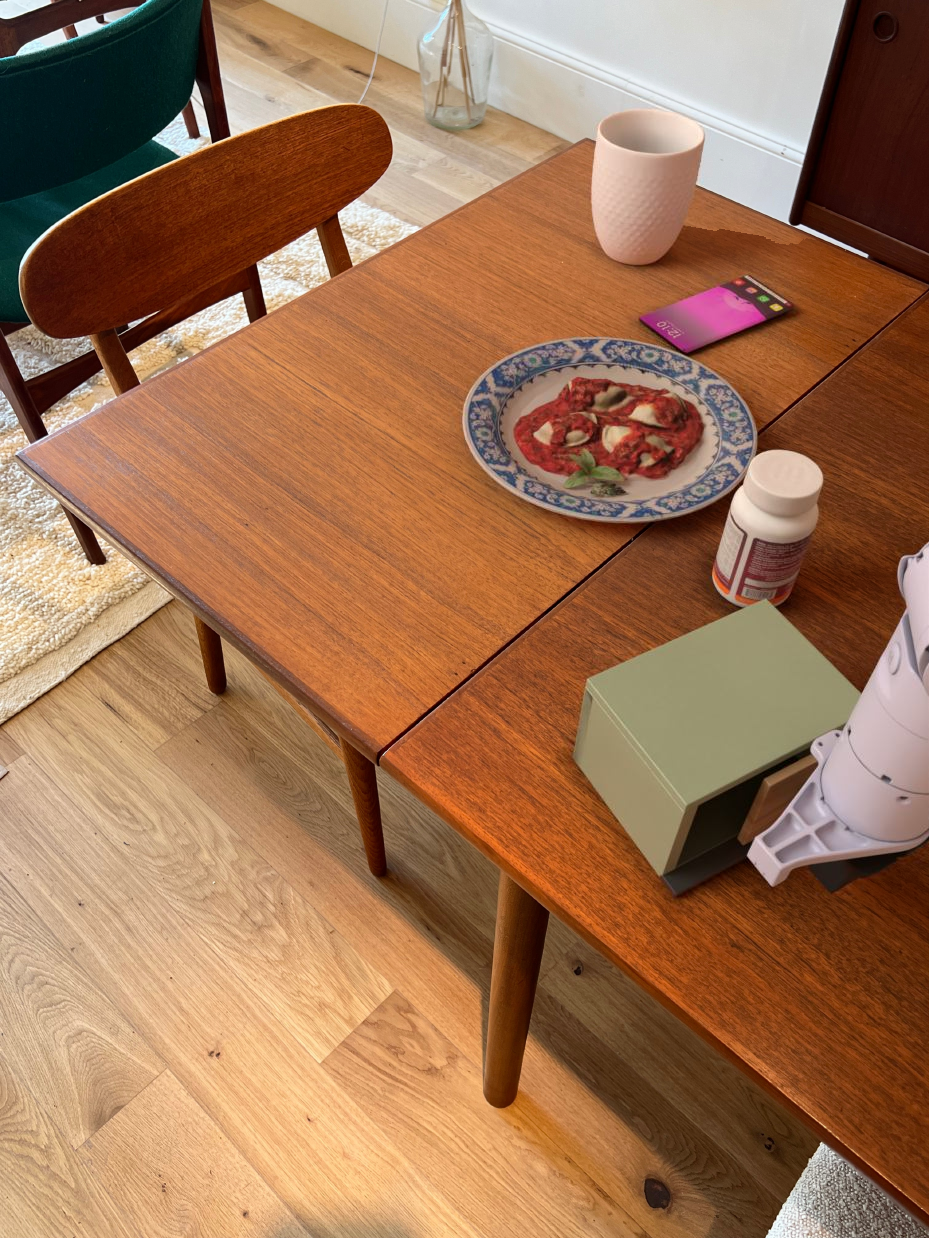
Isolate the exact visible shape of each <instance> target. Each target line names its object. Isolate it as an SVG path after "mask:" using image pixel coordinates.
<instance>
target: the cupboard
mask: <svg viewBox="0 0 929 1238" xmlns="http://www.w3.org/2000/svg"><path fill="white" fill-rule="evenodd" d="M583 691H584V692H583V697H582V702H581V703H582V704H581V709H580V714H579V719H578V720H579V721H578V727H577V732H576V737H575V744H574V748H573V755H572V759H573V760H574V762H575V763H576V765H577V766H578V767H579V769H580V770H581V772H582V773H583V774H584V776H585V777H586V778H587V780H588V781H589V783H590V784H591V785H592V787H593V788H594V790H595V791H596V793H597V794H598V795H599V796H600V797H601V799H602V800H603V801H604V803H605V805H606V806H607V807H608V808H609V810H610V812H611V813H612V814H613V815H614V817H615V818H616V819H617V821H618V822H619V824H620V825H621V827H622V828H623V829H624V830H625V832H626V833H627V834H628V836H629V837H630V839H631V840H632V841H633V843H634V844H635V846H636V847H637V848H638V850H639V851H640V852H641V854H642V856H643V857H644V858H645V859H646V861H647V862H648V863H649V864H650V865H649V866H651V868H652V869H653V870H654V871H655V873H656V874H657V876H658V877H659V878H660V879H661V881H662V882H663V884H664V885H665V886H666V888H667V889H668V891H669V892H670V893H671V895H672V896H673V898H677V897H679V896H681V895H682V894H684V893H686V892H688V891H689V890H690V891H691V889H693V888H696V887H697V886H699V885H700V884H703V883H704V882H706V881H708V880H710V879H711V878H713V877H715V876H717V875H719V874H720V873H723V872H724V871H726V870H728V869H729V868H731V867H733V866H735V865H737V864H739V863H740V862H742V861H744V860H746V859H749V858H748V857H747V854H748V852H749V850H750V848H751V845H752V843H753V841H754V840H752V841H750V842H749V843H747V844H745V845H742V844H741V842H740V841H739V840H738V836H739V833H740V831H741V829H742V827H743V824H744V822H745V820H746V818H747V816H748V813H749V811H750V809H751V807H752V804H753V802H754V800H755V798H756V795H757V793H758V791H759V789H760V787H761V784H762V782H763V780H764V778H766V777H768V776H770V775H772V774H774V773H776V772H778V771H780V770H782V769H783V768H785V767H787V766H789V765H791V764H793V763H795V762H797V761H799V760H801V759H803V758H804V757H806V756H808V755H810V754H812V753H811V746H812V744H813V742H814V741H815V739H817V738H819V737H820V736H822V735H824V734H826V733H828V732H830V731H832V730H840V731H843V729H844V727H845V725H846V723H847V722H848V720H849V718H850V715H851V713H852V712H853V710H854V708H855V706H856V704H857V702H858V700H859V698H860V696H861V694H862V692H860V690H858V689H857V687H856V686H855V685H853V684H852V682H850V680H848V679H847V678H846V676H844V675H843V674H842V672H841V671H839V670H838V668H836V667H835V665H834V664H833V663H831V661H830V660H829V659H827V658H826V657H825V656H824V654H822V653H821V652H820V651H819V649H818V648H817V647H816V646H815V645H813V644H812V643H811V642H810V640H809V639H807V638H806V636H804V635H803V634H802V633H801V632H800V631H799V630H798V629H797V628H796V626H794V625H793V623H792V622H791V621H790V620H788V619H787V618H786V617H785V616H784V614H782V612H780V611H779V609H777V607H776V606H775V607H774V606H773V605H772V604H771V603H770V602H769V601H768V600H767V599H763V600H761V601H759V602H757V603H754V604H752V605H750V606H748V607H746V608H743V607H742V608H741V609H739V610H737V611H735V612H732V613H730V614H728V615H725V616H723V617H721V618H719V619H716V620H715V621H714V620H713V621H712V622H709V623H707V624H705V625H704V626H701V627H699V628H696V629H694V630H692V631H689V632H688V633H686V634H683V635H681V636H679V637H677V638H674V639H672V640H670V641H668V642H666V643H663V644H661V645H659V646H656V647H655V648H652V649H650V650H648V651H645V652H643V653H641V654H639V655H637V656H634V657H632V658H630V659H628V660H626V661H623V662H621V663H618V664H616V665H614V666H612V667H610V668H607V669H605V670H603V671H601V672H599V673H596V674H594V675H592V676H590V677H587V678H586V681H585V687H584V690H583Z"/></svg>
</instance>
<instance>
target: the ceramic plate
mask: <svg viewBox="0 0 929 1238" xmlns="http://www.w3.org/2000/svg"><path fill="white" fill-rule="evenodd" d="M749 407H750V406H749V405H748V404H747V402H746V401H745V399H744V398H743V397H742V395H740V393H739V392H738V391H737V390H736V389H735V388H734V386H732V384H731V383H729V381H727V380H726V379H725V378H724V377H722V376H721V375H720V374H719V373H717V372H715V371H714V370H712V369H711V368H710V367H708V366H706V365H705V364H703V363H702V362H700V361H698V360H696V359H693V358H691V357H689V356H686V354H681V353H680V352H679V351H675V350H673V349H670V348H666V347H663V346H661V345H658V344H657V345H656V344H652V343H649V342H648V343H647V342H644V341H639V340H635V339H627V338H617V337H610V336H577V337H576V336H575V337H569V338H568V337H567V338H562V339H555V340H548V341H545V342H541V343H538V344H537V343H536V344H533V345H531V346H527V347H525V348H522V349H520V350H517V351H516V352H515V351H514V352H513V353H510V354H509V355H507V356H505V357H503V358H502V359H500V360H498V361H497V362H496V363H494V364H493V365H492V366H490V367H489V368H488V369H486V370H485V371H484V372H483V373H482V374H481V375H480V376H479V377H478V378H477V379H476V381H475V382H474V384H473V385H472V386H471V388H470V389H469V392H468V393H467V396H466V398H465V401H464V404H463V407H462V408H463V410H462V416H461V417H462V419H461V421H462V422H461V423H462V430H463V435H464V439H465V442H466V444H467V446H468V448H469V451H470V453H471V455H472V456H473V458H474V459H475V460H476V462H477V463H478V465H479V466H480V468H481V469H482V470H483V471H484V472H486V474H487V475H488V476H489V477H490V478H491V479H492V480H494V481H495V482H496V483H497V484H499V485H500V486H501V487H503V488H504V489H506V490H507V491H509V492H510V493H512V495H515V496H517V497H518V498H521V499H522V500H524V501H525V502H528V503H530V504H532V505H535V506H537V507H539V508H542V509H545V510H547V511H550V512H552V513H556V514H560V515H563V516H567V517H571V518H575V519H579V520H585V521H592V522H597V523H598V522H601V523H610V524H612V523H613V524H639V523H653V522H660V521H664V520H670V519H675V518H679V517H682V516H685V515H688V514H692V513H694V512H697V511H699V510H702V509H705V508H706V507H708V506H710V505H712V504H714V503H717V502H718V501H719V500H721V499H722V498H724V497H725V496H727V495H728V494H730V493H731V492H732V491H733V490H734V489H735V488H736V487H737V486H738V485H739V484H740V483H741V482H742V481H743V480H744V479H745V476H746V474H747V471H748V468H749V465H750V463H751V461H752V460H753V458H754V457H756V455H757V449H758V430H757V425H756V422H755V418H754V416H753V413H752V412H751V410H750V408H749Z"/></svg>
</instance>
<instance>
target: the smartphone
mask: <svg viewBox="0 0 929 1238" xmlns="http://www.w3.org/2000/svg"><path fill="white" fill-rule="evenodd" d="M794 306H795V304H794V302H792V301H790V300H789V299H787V298H786V297H785V296H782V295H781V294H780V293H778V292H777V291H775V290H774V289H772V288H770V287H769V286H768V285H766V284H764V283H763V282H761V281H760V280H758V279H757V278H755V277H754V276H753V275H751V274H746V275H744V276H741V277H738V278H736V279H733V280H730V281H728V282H726V283H723V284H721V285H717V286H715V287H713V288H710V289H708V290H705V291H702V292H700V293H697V294H695V295H692V296H690V297H687V298H685V299H682V300H680V301H677V302H674V303H672V304H669V305H667V306H664V307H661V308H659V309H656V310H654V311H651V312H649V313H646V314H643V315H641V316H638V322H639V323H640V324H642V325H643V326H645V327H646V328H647V329H649V330H650V331H651V332H652V333H654V334H655V335H656V336H657V337H659V338H660V339H661V340H663V341H664V342H665V343H666V344H668V345H670V346H671V347H672V348H673V349H674V350H676V352H678V353H680V354H682V355H687V354H689V353H692V352H694V351H697V350H699V349H701V348H703V347H704V348H705V347H706V346H709V345H711V344H714V343H716V342H718V341H720V340H723V339H726V338H728V337H730V336H732V335H735V334H738V333H741V332H742V331H745V330H747V329H749V328H753V327H754V326H756V325H760V324H762V323H764V322H766V321H769V320H771V319H773V318H776V317H778V316H781V315H783V314H786V313H788V312H791V311H792V310H793V309H794Z"/></svg>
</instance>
